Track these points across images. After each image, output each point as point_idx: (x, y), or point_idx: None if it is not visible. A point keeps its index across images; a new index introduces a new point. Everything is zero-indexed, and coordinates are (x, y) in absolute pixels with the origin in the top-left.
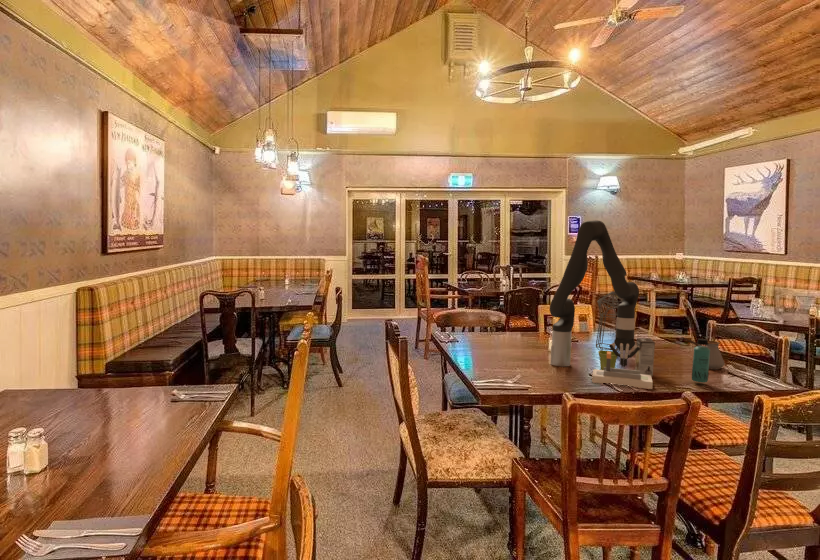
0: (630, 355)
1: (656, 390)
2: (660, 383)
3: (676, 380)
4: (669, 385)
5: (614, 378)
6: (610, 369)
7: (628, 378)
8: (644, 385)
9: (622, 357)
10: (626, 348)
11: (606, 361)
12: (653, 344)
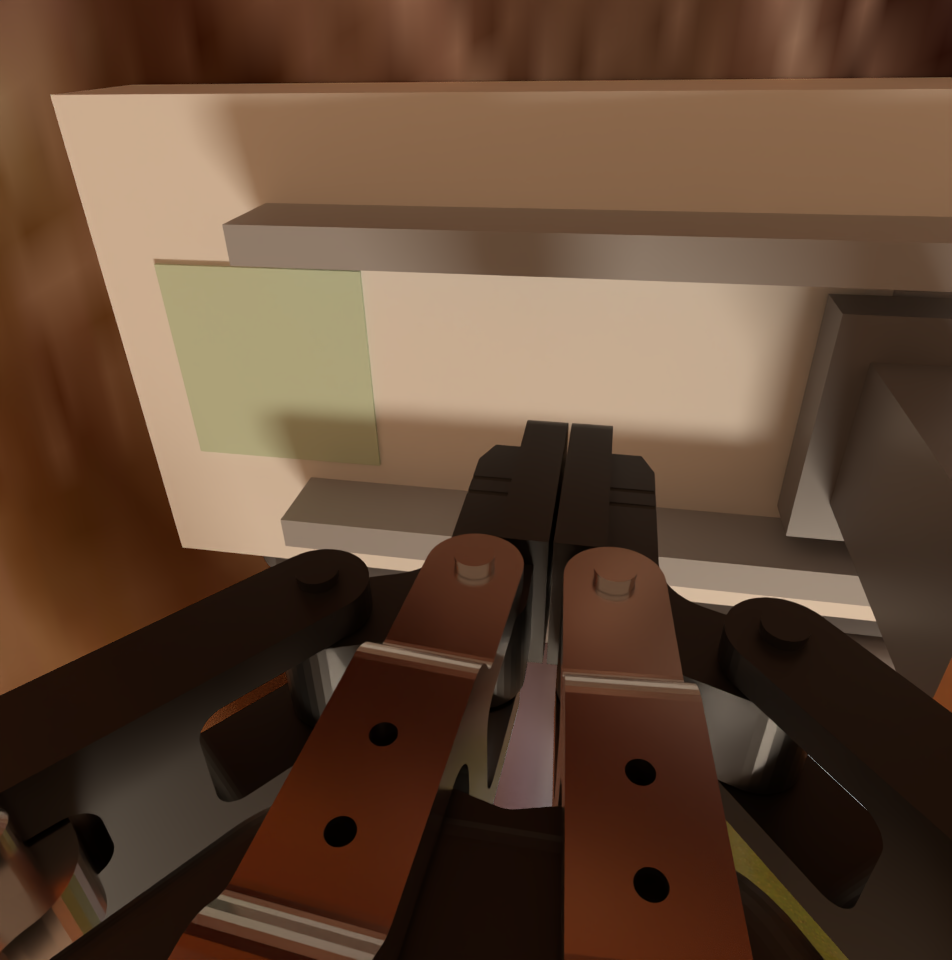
0: (307, 603)
1: (63, 35)
2: (116, 464)
3: (19, 625)
4: (10, 411)
5: (794, 90)
6: (814, 529)
7: (486, 201)
8: (223, 88)
9: (593, 565)
10: (371, 863)
11: (785, 898)
12: None
